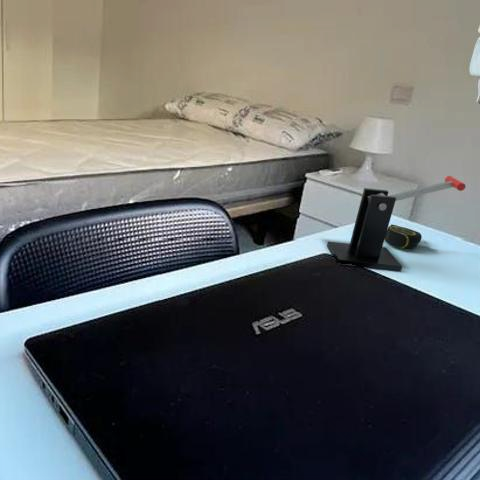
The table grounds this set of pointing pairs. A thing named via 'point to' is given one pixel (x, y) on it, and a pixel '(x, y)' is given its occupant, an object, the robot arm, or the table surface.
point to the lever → (429, 189)
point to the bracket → (369, 235)
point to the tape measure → (402, 237)
